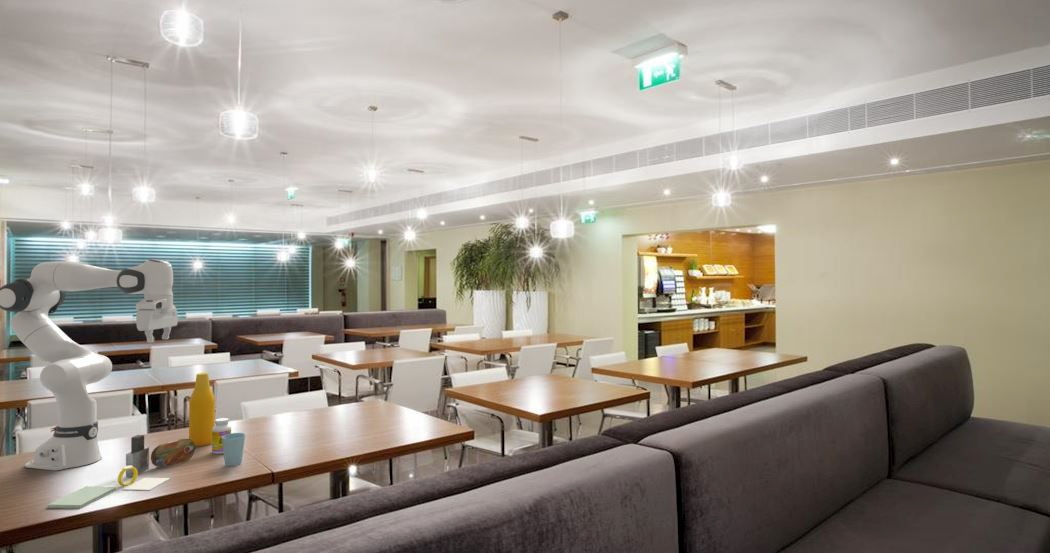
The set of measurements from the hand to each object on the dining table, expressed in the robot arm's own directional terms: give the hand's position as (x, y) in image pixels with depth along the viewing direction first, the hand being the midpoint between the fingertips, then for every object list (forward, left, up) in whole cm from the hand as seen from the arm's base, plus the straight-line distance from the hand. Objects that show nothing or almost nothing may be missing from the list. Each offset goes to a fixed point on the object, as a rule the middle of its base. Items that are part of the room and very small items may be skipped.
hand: (158, 340), depth 201 cm
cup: (+27, +2, -46) cm, 53 cm away
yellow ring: (+3, -19, -46) cm, 50 cm away
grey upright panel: (-1, -9, -46) cm, 47 cm away
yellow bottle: (+1, +25, -46) cm, 52 cm away
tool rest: (-2, -31, -46) cm, 55 cm away
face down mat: (+10, -19, -46) cm, 50 cm away
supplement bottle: (+15, +15, -46) cm, 51 cm away
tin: (+5, +1, -46) cm, 46 cm away
